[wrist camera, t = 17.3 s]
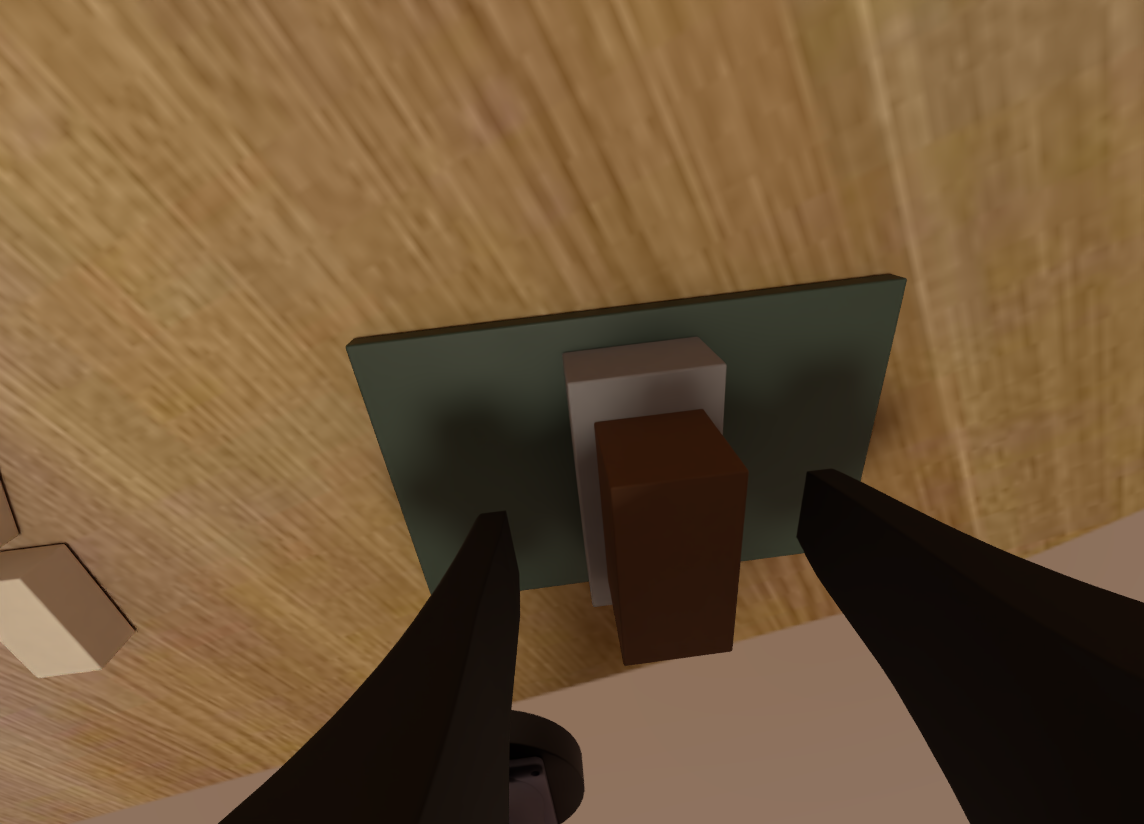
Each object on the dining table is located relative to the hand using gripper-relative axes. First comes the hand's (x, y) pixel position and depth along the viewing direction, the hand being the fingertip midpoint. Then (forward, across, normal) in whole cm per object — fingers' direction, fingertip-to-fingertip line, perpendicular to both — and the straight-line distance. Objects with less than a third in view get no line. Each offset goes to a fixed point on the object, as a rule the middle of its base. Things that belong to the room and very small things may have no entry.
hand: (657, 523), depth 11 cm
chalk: (+3, +18, +3) cm, 19 cm away
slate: (+3, 0, 0) cm, 3 cm away
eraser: (+3, 0, 0) cm, 3 cm away
